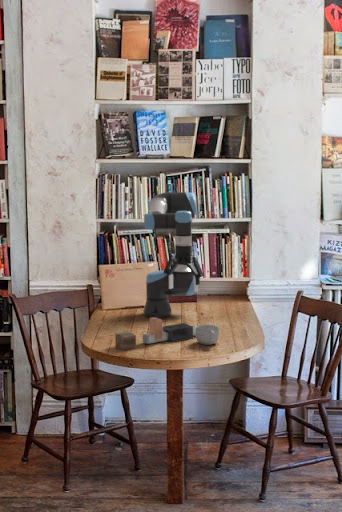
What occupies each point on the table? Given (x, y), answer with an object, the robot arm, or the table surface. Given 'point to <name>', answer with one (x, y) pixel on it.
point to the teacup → (207, 334)
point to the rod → (158, 332)
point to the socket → (125, 340)
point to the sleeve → (179, 331)
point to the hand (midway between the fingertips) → (183, 290)
